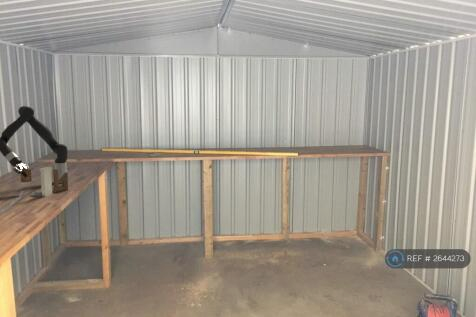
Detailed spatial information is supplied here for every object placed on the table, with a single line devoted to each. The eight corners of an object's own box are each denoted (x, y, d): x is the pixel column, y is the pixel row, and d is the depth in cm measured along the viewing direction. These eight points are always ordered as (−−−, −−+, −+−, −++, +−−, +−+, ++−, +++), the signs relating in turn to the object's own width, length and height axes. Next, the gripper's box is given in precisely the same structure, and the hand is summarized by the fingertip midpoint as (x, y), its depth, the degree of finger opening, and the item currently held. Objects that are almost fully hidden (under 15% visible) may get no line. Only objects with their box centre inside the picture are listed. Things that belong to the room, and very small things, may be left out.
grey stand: (39, 192, 324) (37, 165, 321) (54, 193, 322) (53, 166, 318) (29, 195, 314) (27, 168, 310) (44, 197, 311) (43, 169, 308)
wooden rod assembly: (68, 190, 335) (67, 168, 332) (55, 192, 327) (54, 169, 324) (66, 189, 338) (65, 167, 335) (52, 191, 329) (52, 169, 327)
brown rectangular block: (24, 180, 322) (23, 168, 320) (31, 181, 321) (30, 168, 319) (21, 181, 318) (20, 169, 316) (28, 182, 317) (27, 169, 315)
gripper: (9, 157, 311) (24, 174, 310) (22, 154, 324) (37, 171, 324) (3, 164, 313) (18, 181, 312) (17, 160, 326) (31, 177, 326)
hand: (28, 175), depth 318 cm, fingers closed on brown rectangular block, 4 cm apart
